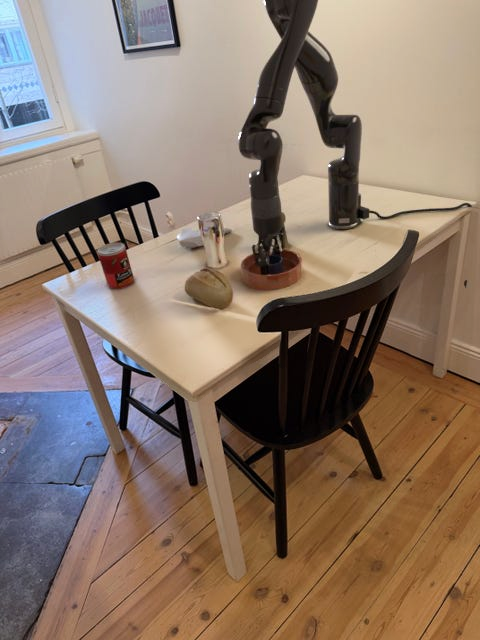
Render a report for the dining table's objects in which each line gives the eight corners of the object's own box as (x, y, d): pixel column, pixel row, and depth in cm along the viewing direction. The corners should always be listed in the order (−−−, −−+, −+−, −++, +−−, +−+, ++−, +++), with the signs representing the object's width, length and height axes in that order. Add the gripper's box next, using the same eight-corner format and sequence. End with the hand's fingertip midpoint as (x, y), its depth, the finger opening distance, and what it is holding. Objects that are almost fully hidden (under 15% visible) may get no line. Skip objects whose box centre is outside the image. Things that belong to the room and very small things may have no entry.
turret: (236, 239, 158) (235, 225, 155) (191, 252, 145) (190, 237, 143) (215, 233, 164) (215, 220, 162) (170, 246, 151) (169, 232, 149)
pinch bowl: (267, 268, 130) (266, 253, 128) (287, 271, 127) (286, 256, 125) (256, 278, 126) (255, 263, 124) (277, 282, 123) (276, 266, 121)
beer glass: (232, 259, 139) (225, 211, 131) (223, 270, 134) (216, 220, 126) (210, 258, 142) (202, 211, 134) (201, 269, 136) (192, 220, 128)
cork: (287, 251, 140) (285, 216, 134) (268, 251, 141) (264, 217, 135) (290, 242, 144) (287, 208, 139) (270, 243, 146) (267, 209, 140)
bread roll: (204, 285, 128) (199, 258, 123) (244, 299, 118) (240, 271, 114) (178, 300, 122) (171, 273, 118) (217, 317, 113) (212, 288, 108)
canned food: (121, 291, 131) (111, 255, 125) (102, 286, 135) (90, 251, 129) (140, 278, 136) (130, 244, 130) (120, 274, 140) (110, 240, 134)
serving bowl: (280, 258, 136) (279, 243, 134) (314, 277, 123) (314, 262, 121) (232, 275, 130) (230, 261, 128) (263, 298, 118) (261, 282, 115)
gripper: (266, 224, 110) (272, 286, 119) (292, 203, 120) (296, 261, 129) (239, 221, 114) (247, 281, 123) (266, 201, 124) (272, 258, 133)
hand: (272, 271), depth 126 cm, fingers closed on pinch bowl, 6 cm apart
